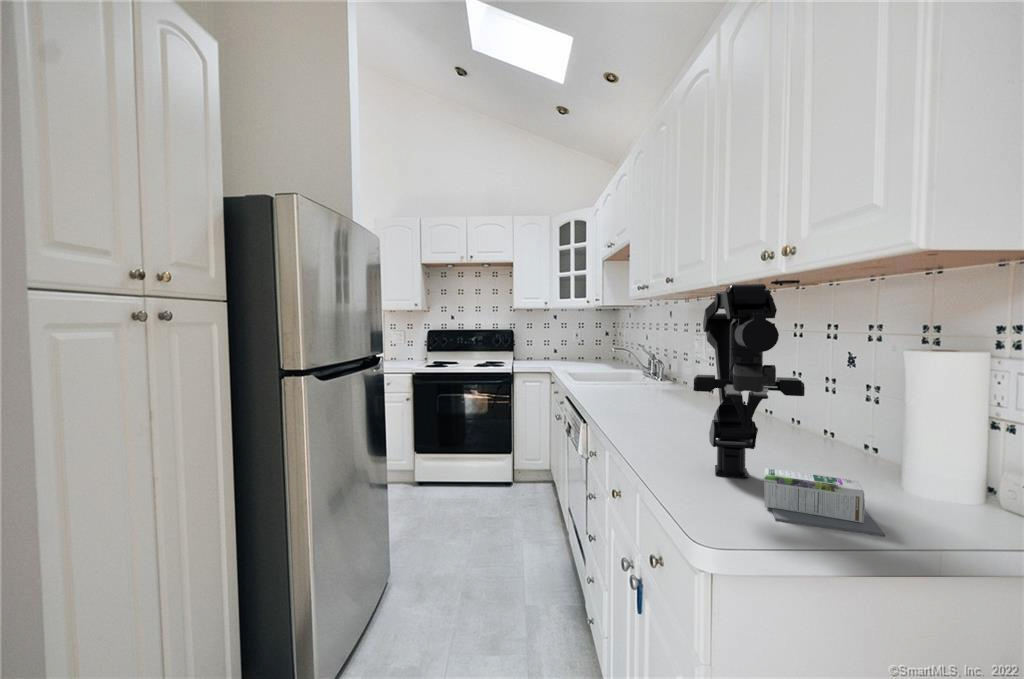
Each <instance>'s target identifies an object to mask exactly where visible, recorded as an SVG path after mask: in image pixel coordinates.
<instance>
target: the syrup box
mask: <svg viewBox="0 0 1024 679" xmlns="http://www.w3.org/2000/svg"><path fill="white" fill-rule="evenodd" d="M763 479H764V481H763V482H764V486H763V488H764V507H765V508H769V509H772V508H776V509H782V510H788V511H793V512H800V513H805V514H812V515H818V516H824V517H830V518H836V519H842V520H848V521H854V522H860V523H864V522H863V520H864V512H865V510H866V503H865V502H866V499H865V492H864V490H863V487H862V485H861V484H860V483H861V482H859V480H856V479H849V478H841V477H833V476H827V475H818V474H812V473H805V472H797V471H790V470H784V469H783V470H782V469H775V468H773V469H772V468H767V467H766V468H764V478H763Z"/></svg>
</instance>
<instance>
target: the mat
mask: <svg viewBox="0 0 1024 679" xmlns="http://www.w3.org/2000/svg"><path fill="white" fill-rule="evenodd" d="M771 512H772V514H773V517H774V520H775V521H778V522H785V523H790V524H791V523H792V524H797V525H805V526H812V527H818V528H826V529H833V530H838V531H840V530H841V531H845V532H852V533H860V534H865V535H866V534H867V535H868V534H869V535H874V536H880V537H886V532H884V530H883V529H882V528H881V527H880V525H878V523H877V522H876V520H874V518H873V517H872V516H871V514H870V513H869V512H868V511H867V510H866V509H865V512H864V520H863V522H864V523H860V522H854V521H848V520H842V519H836V518H830V517H824V516H818V515H812V514H805V513H800V512H793V511H788V510H782V509H776V508H771Z"/></svg>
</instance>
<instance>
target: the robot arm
mask: <svg viewBox="0 0 1024 679" xmlns="http://www.w3.org/2000/svg"><path fill="white" fill-rule="evenodd" d="M719 310H724V311H725V312H724V313H722V312H721V313H718V312H719ZM777 310H778V309H777V306H776V303H775V300H774V297H773V295H772V293H771V290H770V289H767V285H765V283H752V284H751V283H750V284H748V283H747V284H729V285H728V287H727V288H725V290H724V291H718V292H715V295H714V299H713V301H712V302H711V303H710V304H709V305H708V306H707V307H706V308H705V310H704V315H703V321H702V330H703V332H704V333H705V335H706V342H708V344H709V345H710V346H711V347H712V348H713V349H714V355H715V364H716V366H715V367H716V375H717V376H716V375H715V374H696V375H695V376H694V377H693V392H703V393H704V392H706V393H712V392H713V391H714V390H715V389H718V397H719V399H718V400H719V405H718V407H717V408H716V411H715V413H714V415H713V419H712V420H711V423H710V428H709V432H708V433H709V434H708V435H709V444H710V445H711V446H712V448H717V449H716V453H717V454H716V464H715V465H714V470H715V471H714V475H715V476H723V477H731V478H740V479H749V475H748V474H749V473H748V470H747V467H746V449H749V450H750V449H751V450H755V448H756V442H757V436H758V431H759V428H758V427H757V426H756V422H755V421H753V417H754V415H755V412H756V410H757V408H758V406H759V404H760V403H761V402H762V400H768V399H769V395H768V393H769V391H773V392H776V391H777V392H780V393H782V394H783V395H784V396H790V397H791V396H792V397H805V391H806V390H805V383H804V382H803V381H802V380H800V379H799V378H798V377H777V376H776V375H777V370H776V369H777V368H776V365H775V364H764V365H763V363H764V361H763V360H764V359H763V356H764V352H768V351H770V350H771V349H773V348H774V347H775V346H776V345H777V343H778V342H779V336H780V335H779V331H778V328H777V327H776V325H775V324H774V323H773V322H771V321H770V320H769V319H776V314H777V312H778V311H777ZM716 377H717V378H716ZM742 392H748V396H747V404H746V403H744V399H743V398H744V397H743V394H742Z"/></svg>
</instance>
